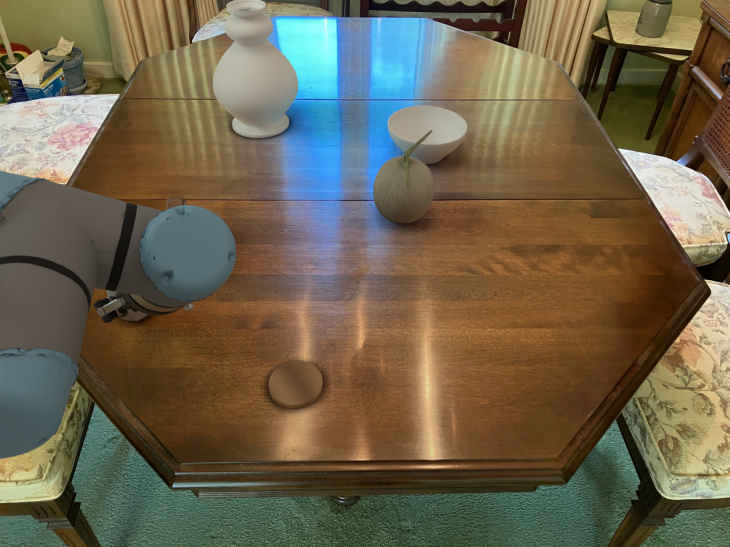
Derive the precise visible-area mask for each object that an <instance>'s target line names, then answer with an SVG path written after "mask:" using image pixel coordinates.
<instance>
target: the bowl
mask: <svg viewBox="0 0 730 547" xmlns="http://www.w3.org/2000/svg"><path fill="white" fill-rule="evenodd" d="M468 127H469V125H468V123H467V121H466V120H465V119H464V118H463V116H462V115H459V114H458V113H457V112H455V111H452V110H450V109H447V108H445V107H439V106H435V105H434V106H433V105H413V106H408V107H404V108H401V109H398V110H396V111H394V112H393V113H392V114H391V115H390V116H389V117H388V120H387V129H388V130H387V131H388V134H389V136H390V138H391V140H392V141H393V143H394V144H395V145H396V146H397V148H398V149H400V150H401V151H402V152H403V154H404V153H405V152H406V151H407V150H408V149H409V148H411V147H412V146H413V145H414V144H415V143H416V142H418V141H419V140H420V139H421V138H422V137H424V136H425V135H426V134H427V133H428V132H429V131H430V130H432V132H431V133H430V134H429V135H428V136H427V138H426V139H425V140H424V141H423V142H421V143H420V144H419V145H418V146H417V147H416V148H415V150H414V151H413V152H412V153H411V154H410V157H413V158H416V159H418V160H420V161H422V162H423V163H424V164H425V165H432V164H436V163H438V162H440V161H442V159H443V158H444V157H446V156H447V155H449V154H450V153H451V152H453V151H455V150H456V149H457V148H458V147H459V146H460V145H461V144H462V142H463V141H464V140H465V137H467V133H468Z"/></svg>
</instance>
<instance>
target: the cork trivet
mask: <svg viewBox="0 0 730 547" xmlns="http://www.w3.org/2000/svg"><path fill="white" fill-rule="evenodd" d="M323 380H324V379H323V376H322V373H321V371H320V369H319V368H318V367H317V366H315V365H314V364H312V363H310V362H309V361H305V360H289V361H287V362H284V363H281V364H280V365H279V366H277V367H276V368H275V369H274V370H273V371H272V373H271V374H270V376H269V379H268V391H269V395H270V397H271V399H272V400H273V401H274V402H276V404H278V405H279V406H281V407H283V408H286V409H287V408H288V409H301V408H304V407H307V406H309V405H311V404H313V403H314V402H315V401H316V400H317V399H318V398H319V396H320V395H321V393H322V390H323V387H324V382H323Z"/></svg>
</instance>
